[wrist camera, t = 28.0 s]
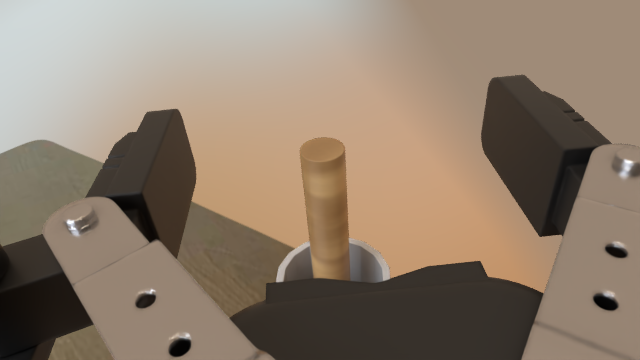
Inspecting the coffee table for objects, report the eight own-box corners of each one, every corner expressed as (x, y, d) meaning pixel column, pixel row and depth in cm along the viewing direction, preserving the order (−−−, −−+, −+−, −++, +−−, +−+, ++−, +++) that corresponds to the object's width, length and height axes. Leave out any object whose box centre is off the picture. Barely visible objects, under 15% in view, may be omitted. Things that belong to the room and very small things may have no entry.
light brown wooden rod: (361, 354, 37) (356, 136, 25) (353, 389, 35) (342, 167, 23) (325, 346, 38) (304, 132, 26) (315, 380, 35) (285, 161, 24)
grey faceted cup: (364, 319, 40) (362, 225, 34) (404, 396, 35) (410, 300, 28) (282, 347, 39) (264, 253, 32) (310, 432, 33) (294, 339, 26)
